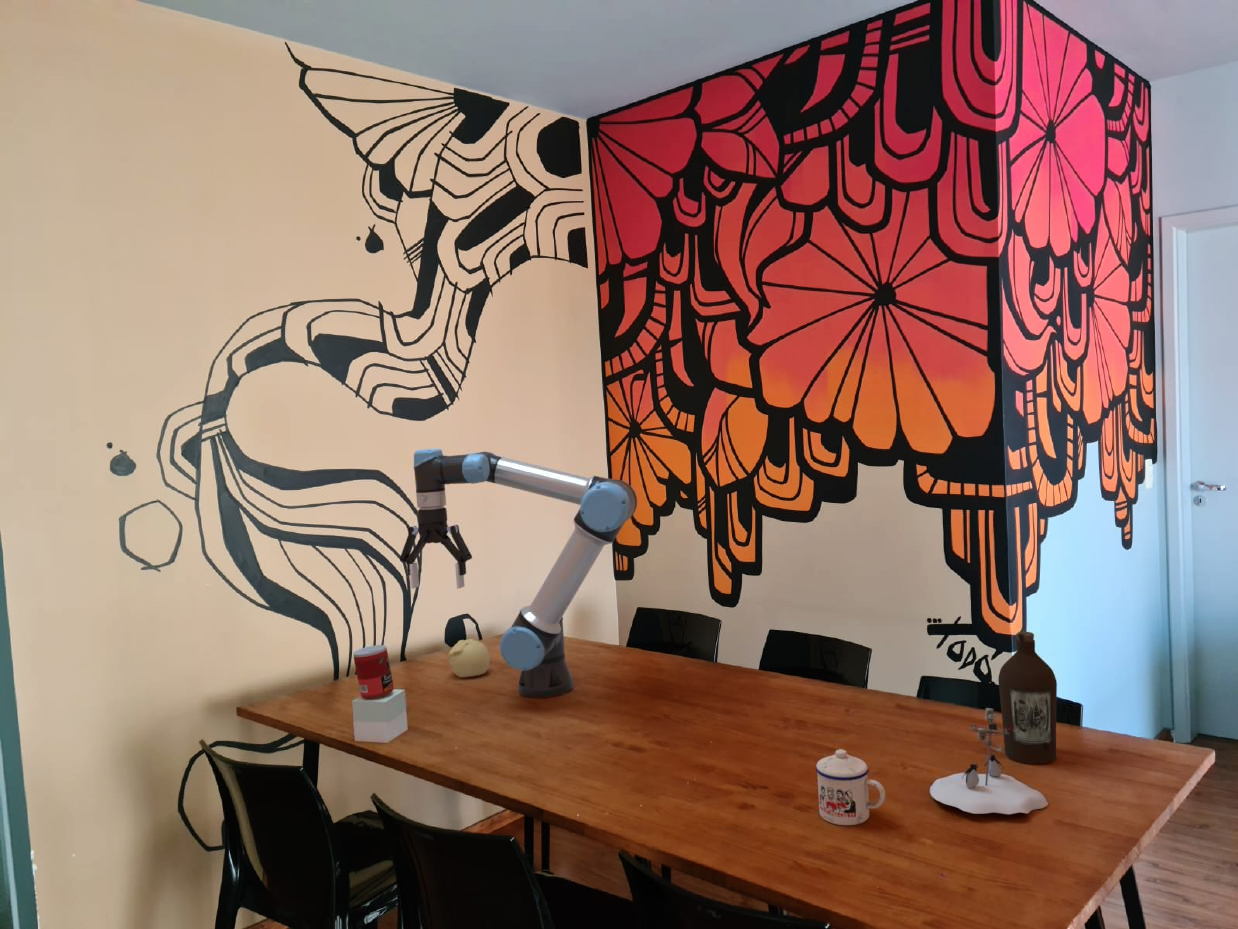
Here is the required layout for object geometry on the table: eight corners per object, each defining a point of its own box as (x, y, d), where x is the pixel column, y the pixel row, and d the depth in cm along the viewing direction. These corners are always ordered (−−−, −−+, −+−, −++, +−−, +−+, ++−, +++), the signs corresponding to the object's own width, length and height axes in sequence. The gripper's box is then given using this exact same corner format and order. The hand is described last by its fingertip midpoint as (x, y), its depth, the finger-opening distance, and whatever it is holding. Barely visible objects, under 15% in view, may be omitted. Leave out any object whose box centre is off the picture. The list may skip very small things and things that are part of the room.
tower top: (406, 709, 215) (404, 689, 215) (387, 722, 207) (385, 701, 206) (374, 708, 218) (372, 689, 217) (353, 721, 209) (352, 701, 209)
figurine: (984, 828, 145) (986, 731, 145) (908, 791, 162) (909, 703, 162) (1070, 812, 153) (1071, 719, 153) (988, 778, 170) (990, 694, 170)
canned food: (391, 695, 208) (382, 650, 208) (357, 701, 208) (349, 656, 207) (397, 685, 216) (389, 642, 215) (364, 691, 215) (356, 648, 215)
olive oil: (998, 744, 182) (993, 626, 181) (1054, 747, 179) (1049, 627, 178) (1004, 764, 172) (999, 639, 171) (1064, 768, 169) (1059, 640, 168)
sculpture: (457, 669, 266) (454, 635, 266) (495, 669, 265) (492, 634, 264) (444, 681, 255) (441, 645, 255) (484, 680, 253) (481, 643, 253)
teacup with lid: (810, 820, 154) (806, 755, 154) (829, 800, 162) (826, 738, 161) (877, 835, 147) (874, 767, 147) (894, 813, 155) (890, 749, 154)
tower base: (407, 729, 215) (406, 709, 215) (387, 743, 207) (385, 722, 207) (376, 727, 218) (374, 708, 218) (354, 741, 210) (353, 721, 209)
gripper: (382, 510, 230) (388, 590, 231) (467, 507, 222) (473, 590, 223) (398, 507, 237) (404, 584, 238) (481, 504, 229) (486, 584, 230)
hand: (437, 587), depth 231 cm, fingers open, 13 cm apart
